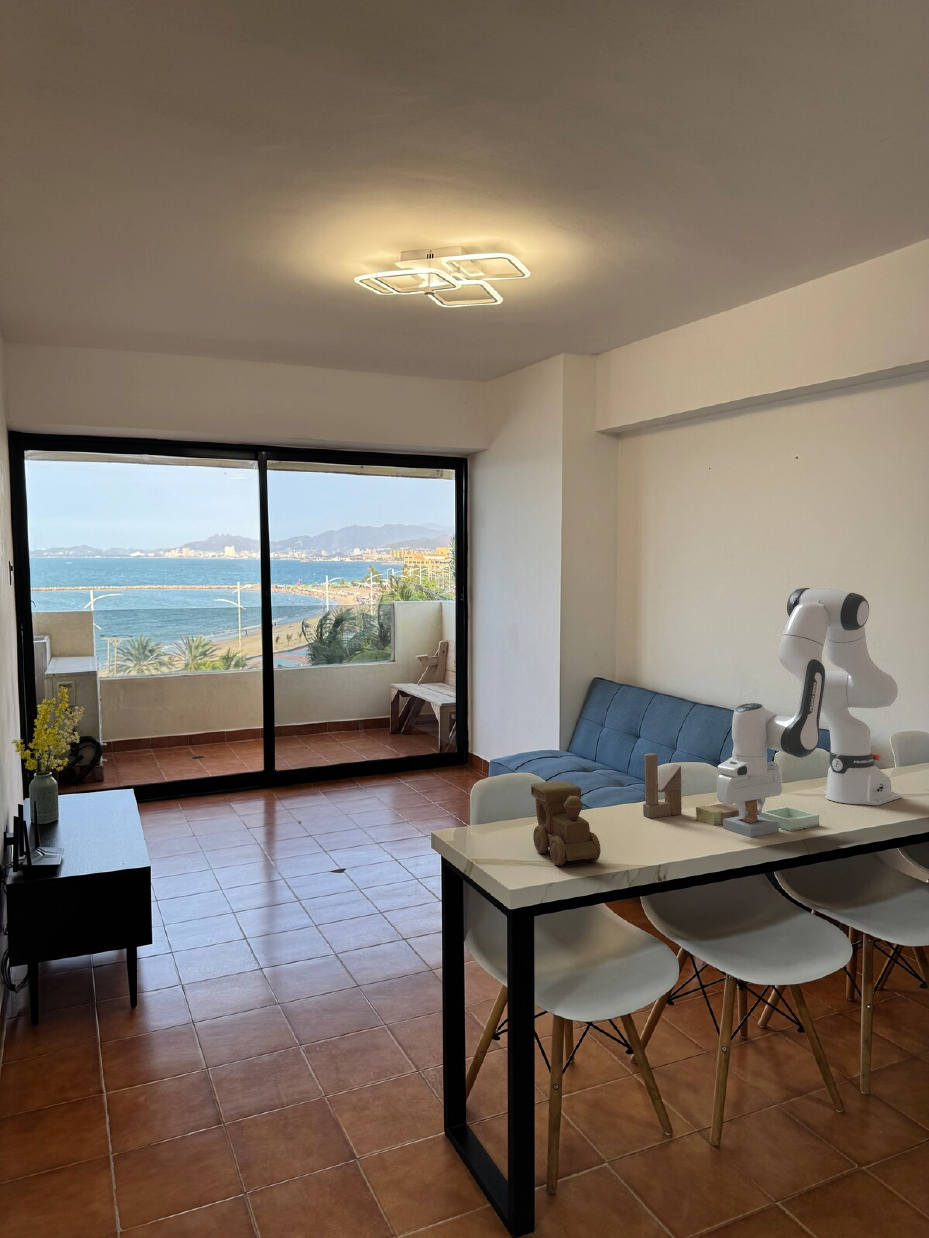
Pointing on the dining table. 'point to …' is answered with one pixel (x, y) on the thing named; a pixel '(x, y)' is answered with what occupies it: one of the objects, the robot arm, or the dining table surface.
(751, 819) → the dowel
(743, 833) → the socket block
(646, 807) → the wooden block
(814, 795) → the dining table surface
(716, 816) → the olive green block
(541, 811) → the wooden toy train
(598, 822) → the dining table surface
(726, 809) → the brown flat block
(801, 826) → the tray
